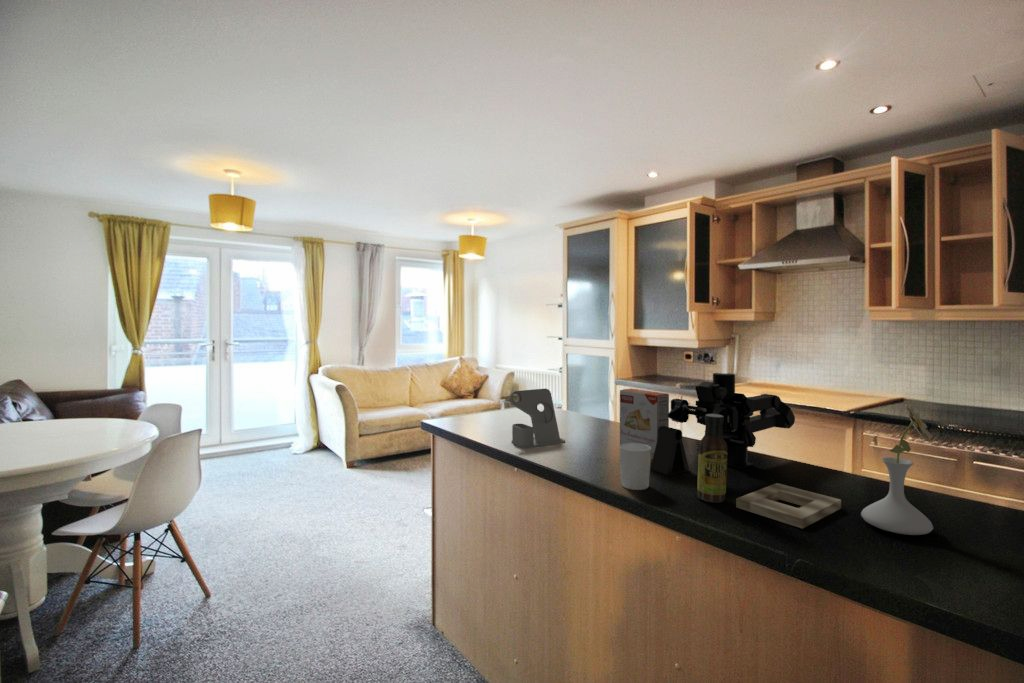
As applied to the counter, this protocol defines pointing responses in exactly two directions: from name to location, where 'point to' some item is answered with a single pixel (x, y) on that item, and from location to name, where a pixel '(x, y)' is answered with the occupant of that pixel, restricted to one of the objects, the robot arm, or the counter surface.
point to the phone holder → (535, 420)
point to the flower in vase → (899, 491)
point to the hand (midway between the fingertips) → (683, 418)
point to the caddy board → (800, 517)
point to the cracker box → (642, 416)
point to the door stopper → (669, 452)
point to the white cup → (635, 465)
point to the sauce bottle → (712, 461)
